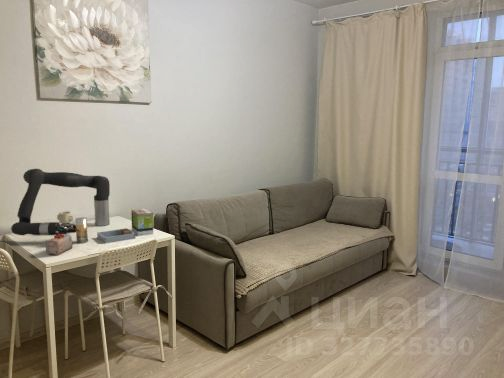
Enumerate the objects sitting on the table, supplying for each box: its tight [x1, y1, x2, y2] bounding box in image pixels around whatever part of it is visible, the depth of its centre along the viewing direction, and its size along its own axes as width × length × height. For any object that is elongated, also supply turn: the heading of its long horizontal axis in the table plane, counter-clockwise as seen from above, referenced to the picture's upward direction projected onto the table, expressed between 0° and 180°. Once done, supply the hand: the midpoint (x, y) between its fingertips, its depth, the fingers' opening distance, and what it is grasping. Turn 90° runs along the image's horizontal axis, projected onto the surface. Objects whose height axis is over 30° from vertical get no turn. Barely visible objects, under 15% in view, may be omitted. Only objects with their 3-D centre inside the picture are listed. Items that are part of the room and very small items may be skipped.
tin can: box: [75, 217, 89, 244], centre depth 239 cm, size 6×6×14 cm
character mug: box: [56, 210, 74, 225], centre depth 258 cm, size 11×7×13 cm, turn 79°
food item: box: [45, 233, 73, 256], centre depth 222 cm, size 14×8×10 cm, turn 170°
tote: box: [97, 227, 136, 244], centre depth 246 cm, size 14×18×4 cm
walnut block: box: [121, 228, 132, 235], centre depth 250 cm, size 6×4×4 cm, turn 37°
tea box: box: [130, 207, 154, 237], centre depth 259 cm, size 15×10×15 cm
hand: (78, 228), depth 239 cm, fingers open, 8 cm apart
